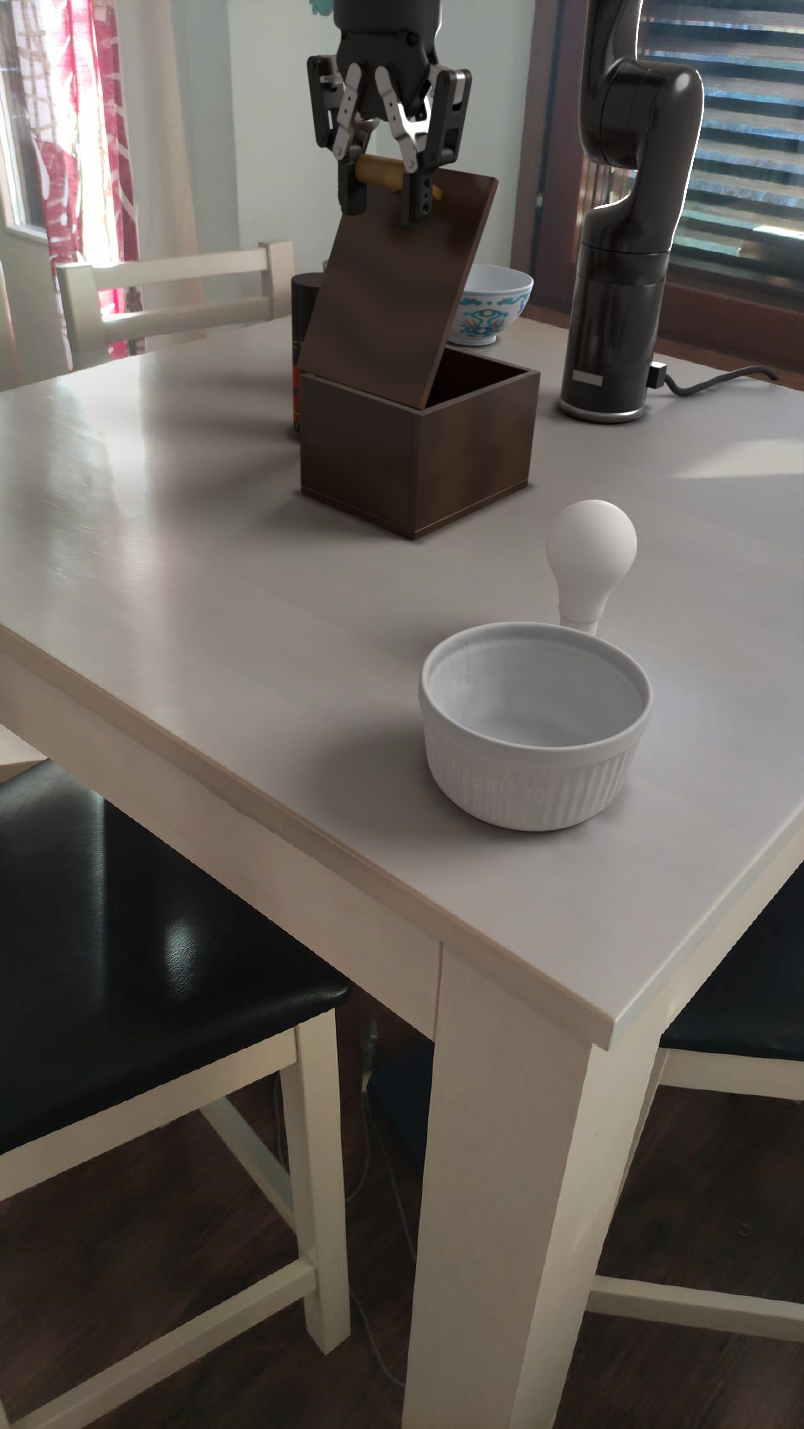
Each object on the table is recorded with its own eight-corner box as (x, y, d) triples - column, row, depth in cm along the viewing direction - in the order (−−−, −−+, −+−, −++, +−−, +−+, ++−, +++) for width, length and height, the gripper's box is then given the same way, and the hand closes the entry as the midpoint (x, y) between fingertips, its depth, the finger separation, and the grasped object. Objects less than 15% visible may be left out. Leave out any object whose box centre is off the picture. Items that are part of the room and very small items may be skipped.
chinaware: (404, 349, 134) (407, 285, 129) (422, 319, 146) (425, 259, 141) (522, 360, 132) (529, 295, 127) (530, 328, 144) (536, 268, 140)
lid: (365, 157, 86) (324, 128, 81) (500, 181, 79) (463, 151, 74) (301, 370, 90) (259, 354, 85) (424, 411, 83) (384, 395, 78)
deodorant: (343, 446, 106) (345, 290, 97) (286, 440, 106) (283, 284, 98) (357, 426, 110) (360, 275, 102) (302, 420, 111) (300, 270, 103)
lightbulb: (624, 634, 78) (650, 494, 71) (609, 675, 73) (636, 530, 67) (543, 617, 79) (562, 479, 73) (523, 657, 74) (542, 513, 68)
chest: (417, 447, 106) (423, 338, 100) (527, 486, 99) (541, 371, 93) (300, 493, 96) (298, 374, 90) (414, 540, 89) (420, 415, 83)
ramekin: (473, 874, 56) (484, 772, 52) (378, 736, 66) (382, 641, 62) (677, 816, 61) (702, 718, 57) (561, 695, 71) (575, 605, 67)
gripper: (508, -48, 69) (487, 229, 79) (349, -54, 77) (348, 200, 87) (436, -51, 65) (423, 244, 74) (273, -58, 72) (281, 212, 82)
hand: (383, 219), depth 80 cm, fingers closed on lid, 5 cm apart
